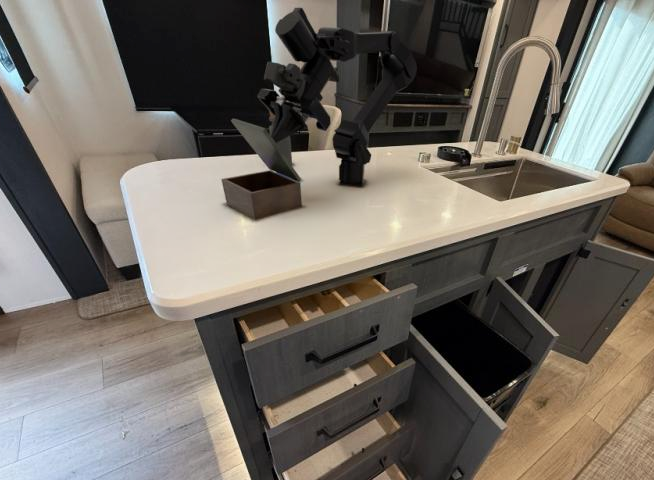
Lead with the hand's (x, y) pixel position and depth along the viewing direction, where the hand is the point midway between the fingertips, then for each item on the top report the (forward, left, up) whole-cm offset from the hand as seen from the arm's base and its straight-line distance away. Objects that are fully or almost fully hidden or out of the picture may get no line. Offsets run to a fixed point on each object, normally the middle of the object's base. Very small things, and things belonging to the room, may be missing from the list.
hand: (273, 141), depth 69 cm
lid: (+1, +2, -2) cm, 3 cm away
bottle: (+10, -30, -13) cm, 35 cm away
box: (+2, +3, -13) cm, 14 cm away
